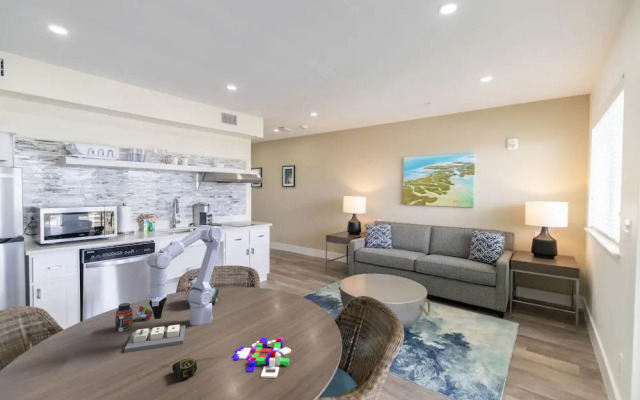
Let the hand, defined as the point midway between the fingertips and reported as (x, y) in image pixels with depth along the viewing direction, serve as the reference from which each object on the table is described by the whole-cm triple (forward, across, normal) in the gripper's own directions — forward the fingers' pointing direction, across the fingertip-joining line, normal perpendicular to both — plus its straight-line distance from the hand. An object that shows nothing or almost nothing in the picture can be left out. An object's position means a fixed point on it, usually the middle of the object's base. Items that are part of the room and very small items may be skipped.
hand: (157, 318), depth 115 cm
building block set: (+10, +23, +36) cm, 44 cm away
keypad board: (+9, 0, 0) cm, 9 cm away
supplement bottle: (+10, -15, -14) cm, 23 cm away
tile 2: (+8, 0, +6) cm, 10 cm away
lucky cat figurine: (+10, -39, +16) cm, 43 cm away
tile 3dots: (+8, 0, -6) cm, 10 cm away
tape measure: (+10, +26, +11) cm, 30 cm away
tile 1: (+8, 0, 0) cm, 8 cm away
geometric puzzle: (+10, -25, -8) cm, 28 cm away
